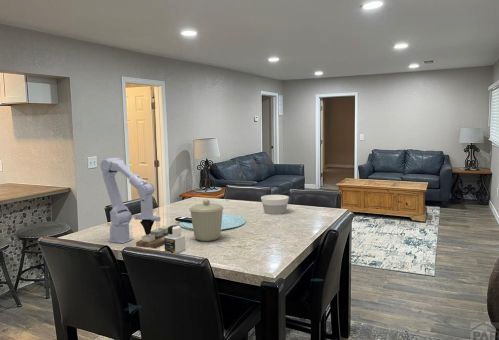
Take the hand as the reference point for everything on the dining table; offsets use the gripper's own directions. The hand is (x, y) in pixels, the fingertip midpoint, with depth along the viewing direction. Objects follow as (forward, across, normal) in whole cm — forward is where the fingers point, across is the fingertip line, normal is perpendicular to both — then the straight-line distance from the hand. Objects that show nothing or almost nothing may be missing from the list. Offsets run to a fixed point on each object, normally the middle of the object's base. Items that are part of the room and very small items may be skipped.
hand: (148, 234), depth 196 cm
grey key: (+3, 0, +7) cm, 8 cm away
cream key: (+4, 0, 0) cm, 4 cm away
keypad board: (+5, +2, +7) cm, 9 cm away
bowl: (+6, +37, +91) cm, 98 cm away
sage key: (+3, 0, +14) cm, 14 cm away
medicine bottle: (+6, +19, -4) cm, 20 cm away
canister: (+6, +24, +19) cm, 31 cm away
